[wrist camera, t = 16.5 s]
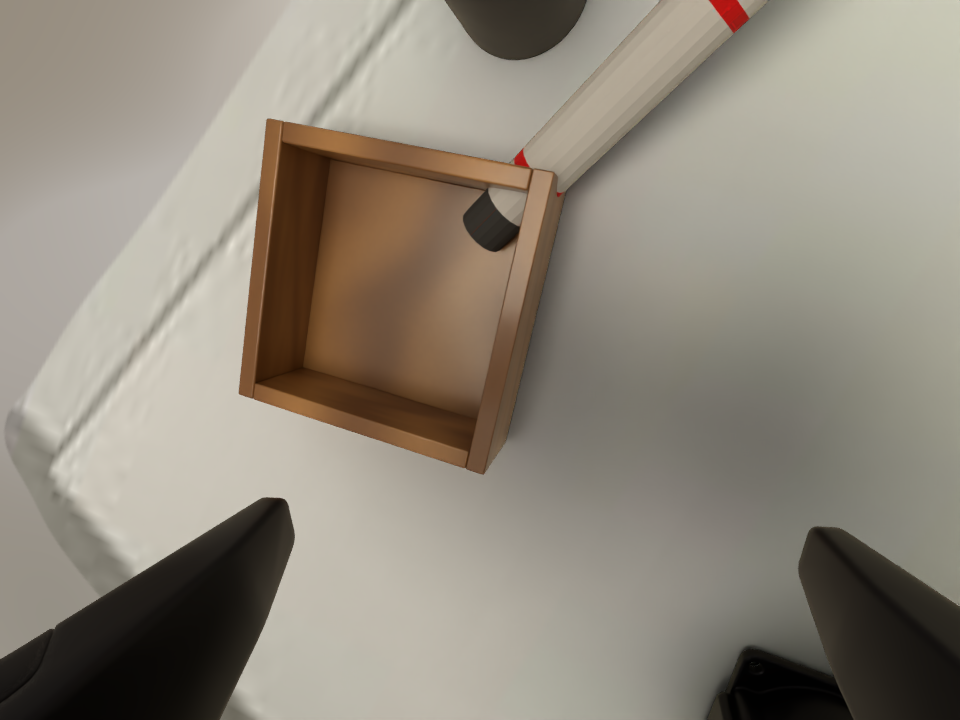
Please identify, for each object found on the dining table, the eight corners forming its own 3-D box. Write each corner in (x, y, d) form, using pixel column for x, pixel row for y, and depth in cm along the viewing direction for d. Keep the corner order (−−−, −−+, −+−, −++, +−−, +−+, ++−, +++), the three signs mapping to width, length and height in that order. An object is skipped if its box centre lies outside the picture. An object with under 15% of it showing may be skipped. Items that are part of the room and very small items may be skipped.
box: (567, 187, 19) (555, 171, 16) (505, 442, 22) (483, 475, 18) (321, 139, 21) (265, 117, 18) (291, 376, 24) (237, 394, 21)
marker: (510, 247, 20) (485, 257, 19) (480, 207, 20) (452, 213, 19) (990, -197, 11) (1021, -252, 9) (933, -269, 11) (954, -336, 9)
